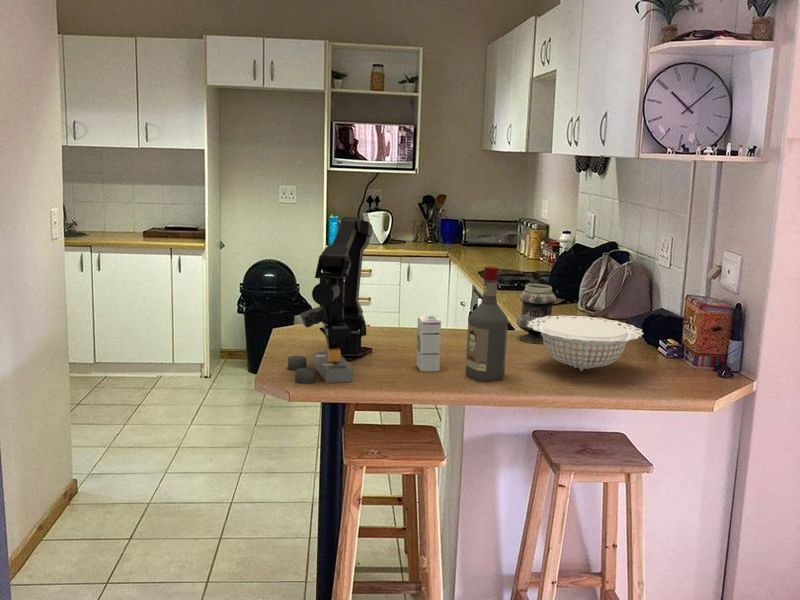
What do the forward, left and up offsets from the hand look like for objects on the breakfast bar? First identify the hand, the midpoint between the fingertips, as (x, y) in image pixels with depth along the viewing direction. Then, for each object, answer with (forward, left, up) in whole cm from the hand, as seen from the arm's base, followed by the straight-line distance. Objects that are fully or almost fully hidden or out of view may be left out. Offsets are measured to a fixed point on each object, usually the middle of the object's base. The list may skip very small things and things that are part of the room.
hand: (331, 355), depth 222 cm
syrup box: (-27, +1, -5) cm, 28 cm away
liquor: (-40, +11, -5) cm, 42 cm away
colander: (-70, +10, -5) cm, 71 cm away
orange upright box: (0, +2, -1) cm, 3 cm away
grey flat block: (0, 0, -5) cm, 5 cm away
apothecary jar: (-73, -26, -5) cm, 78 cm away
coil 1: (+8, -5, -5) cm, 11 cm away
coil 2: (+8, +7, -5) cm, 12 cm away
